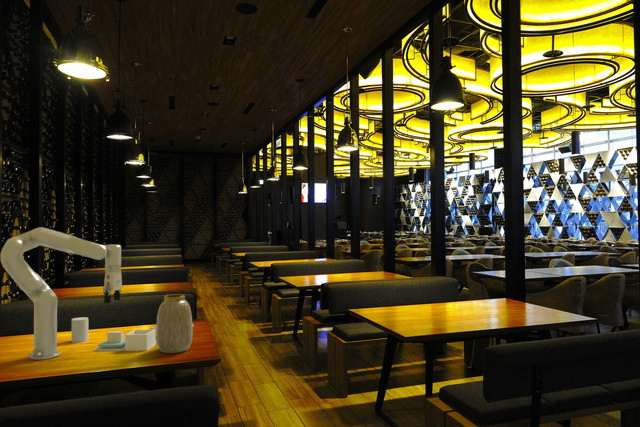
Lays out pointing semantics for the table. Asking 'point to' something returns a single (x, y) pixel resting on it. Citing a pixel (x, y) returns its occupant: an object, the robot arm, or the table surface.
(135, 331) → the box
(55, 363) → the table surface
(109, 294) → the robot arm
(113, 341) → the lid
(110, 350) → the mat
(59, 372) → the table surface
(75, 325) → the cup
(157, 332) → the vase
